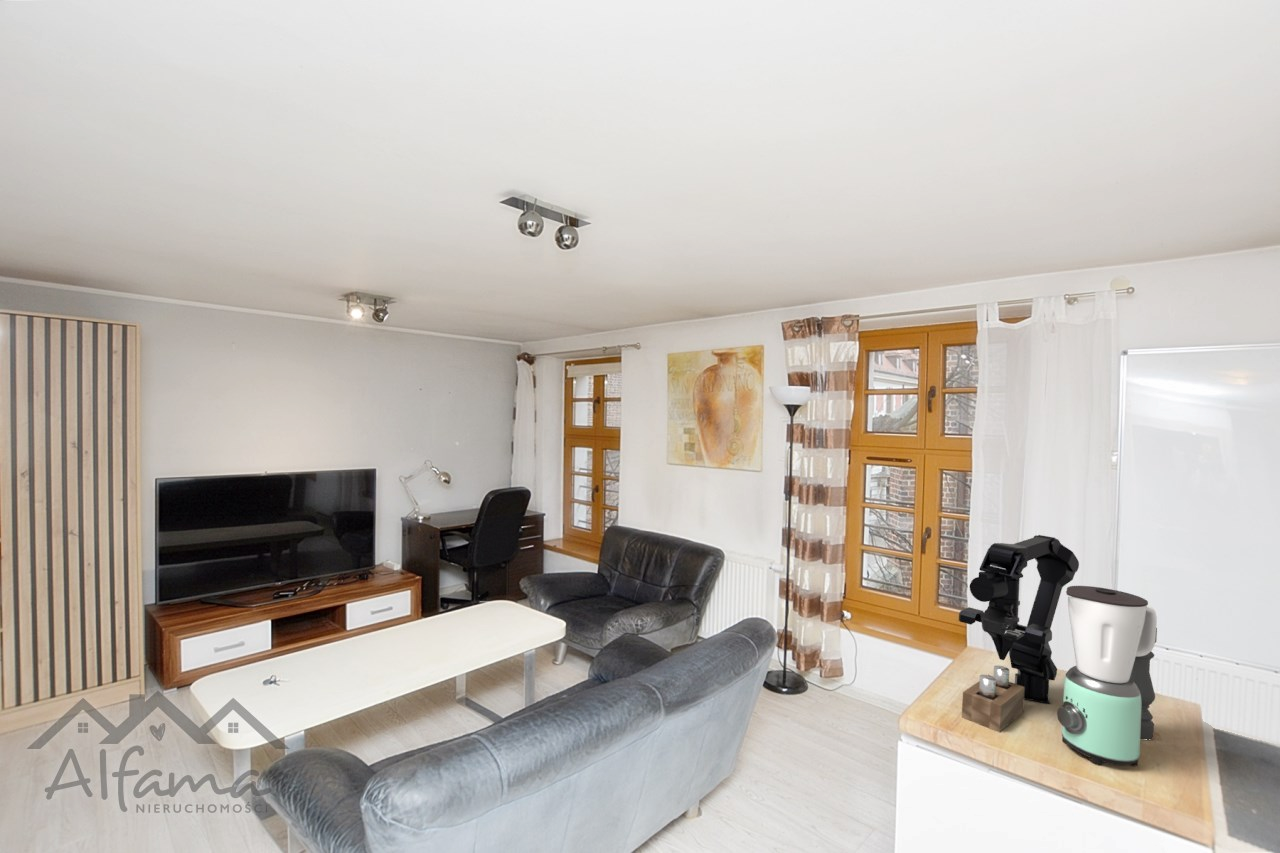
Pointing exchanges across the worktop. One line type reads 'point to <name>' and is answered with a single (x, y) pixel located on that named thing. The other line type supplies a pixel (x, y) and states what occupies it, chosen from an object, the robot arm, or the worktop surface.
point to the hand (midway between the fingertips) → (1002, 659)
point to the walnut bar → (993, 706)
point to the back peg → (1001, 676)
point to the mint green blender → (1105, 673)
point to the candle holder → (1144, 692)
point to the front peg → (987, 686)
